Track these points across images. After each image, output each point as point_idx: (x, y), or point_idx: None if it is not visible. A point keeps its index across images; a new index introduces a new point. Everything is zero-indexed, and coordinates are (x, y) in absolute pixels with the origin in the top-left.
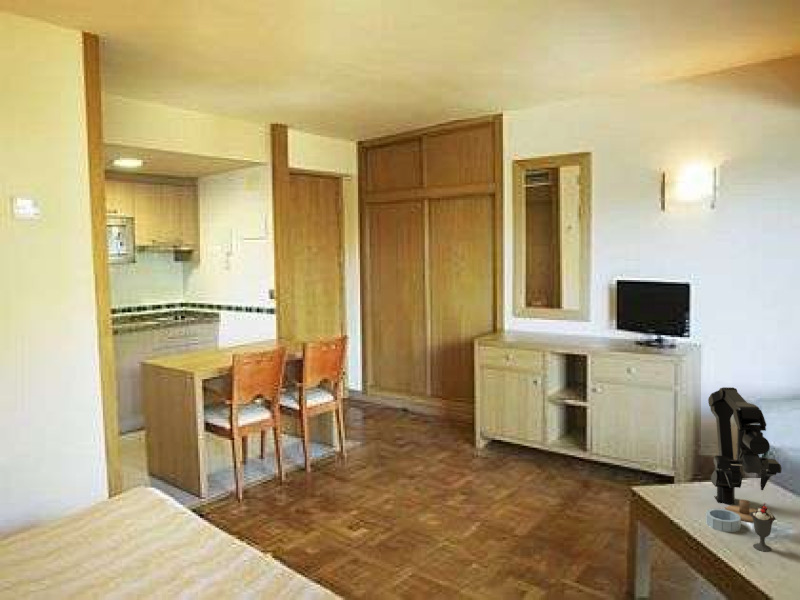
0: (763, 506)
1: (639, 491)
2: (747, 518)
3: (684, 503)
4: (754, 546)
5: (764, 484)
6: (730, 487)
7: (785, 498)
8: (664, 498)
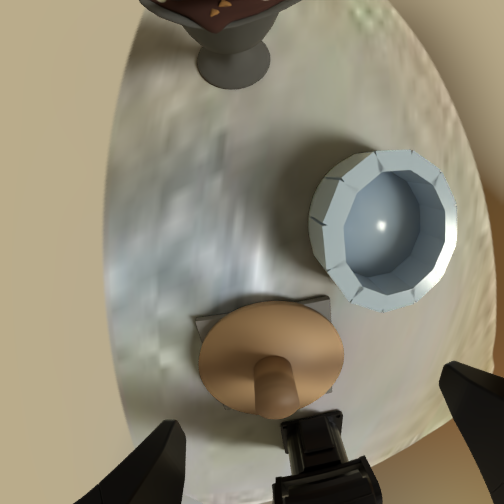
0: None
1: None
2: (268, 317)
3: (434, 367)
4: (265, 50)
5: (132, 465)
6: (455, 362)
7: None
8: None
